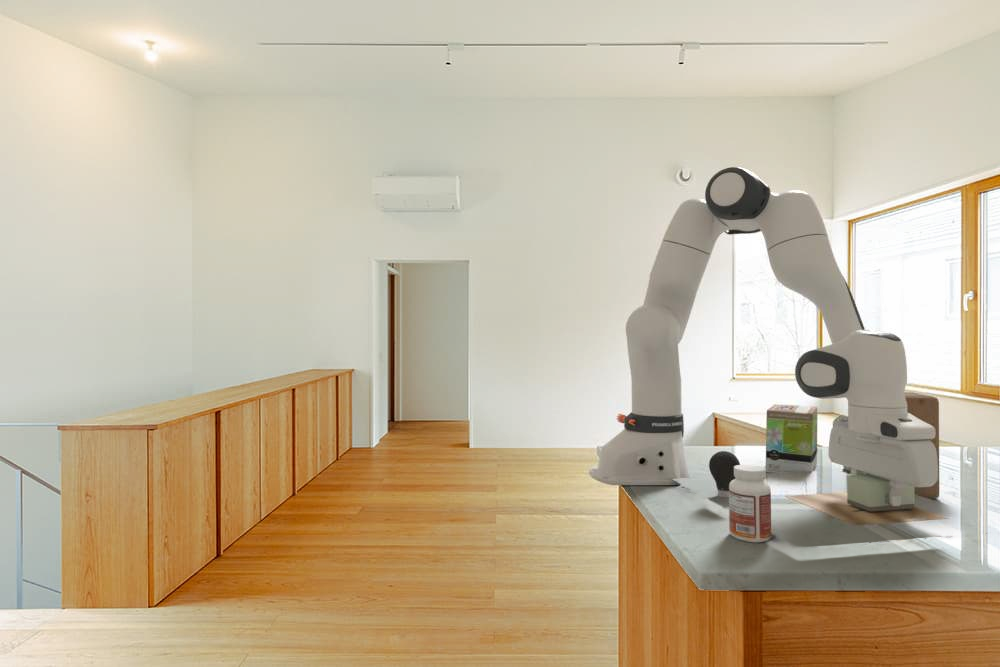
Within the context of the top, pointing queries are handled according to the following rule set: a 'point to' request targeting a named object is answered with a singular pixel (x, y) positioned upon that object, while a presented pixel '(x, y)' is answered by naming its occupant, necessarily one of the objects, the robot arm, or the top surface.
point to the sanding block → (875, 493)
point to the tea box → (791, 438)
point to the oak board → (861, 510)
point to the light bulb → (723, 471)
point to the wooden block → (929, 413)
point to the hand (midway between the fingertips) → (877, 499)
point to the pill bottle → (750, 504)
